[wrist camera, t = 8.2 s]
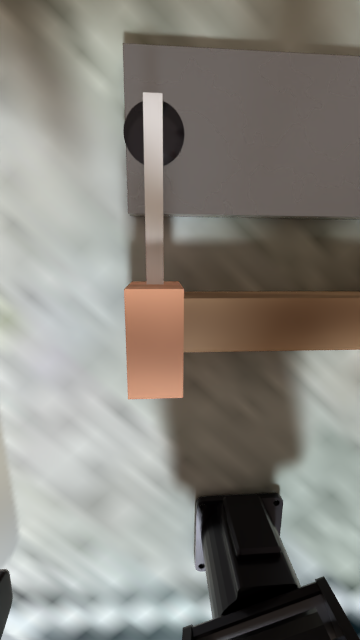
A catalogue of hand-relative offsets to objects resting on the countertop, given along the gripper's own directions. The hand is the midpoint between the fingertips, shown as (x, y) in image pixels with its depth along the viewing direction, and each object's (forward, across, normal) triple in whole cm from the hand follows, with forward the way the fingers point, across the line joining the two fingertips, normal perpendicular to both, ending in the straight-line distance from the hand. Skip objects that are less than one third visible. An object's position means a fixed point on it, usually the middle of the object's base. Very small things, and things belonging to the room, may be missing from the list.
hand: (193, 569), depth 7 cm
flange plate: (+12, -8, -14) cm, 20 cm away
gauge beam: (+12, -8, -8) cm, 17 cm away
